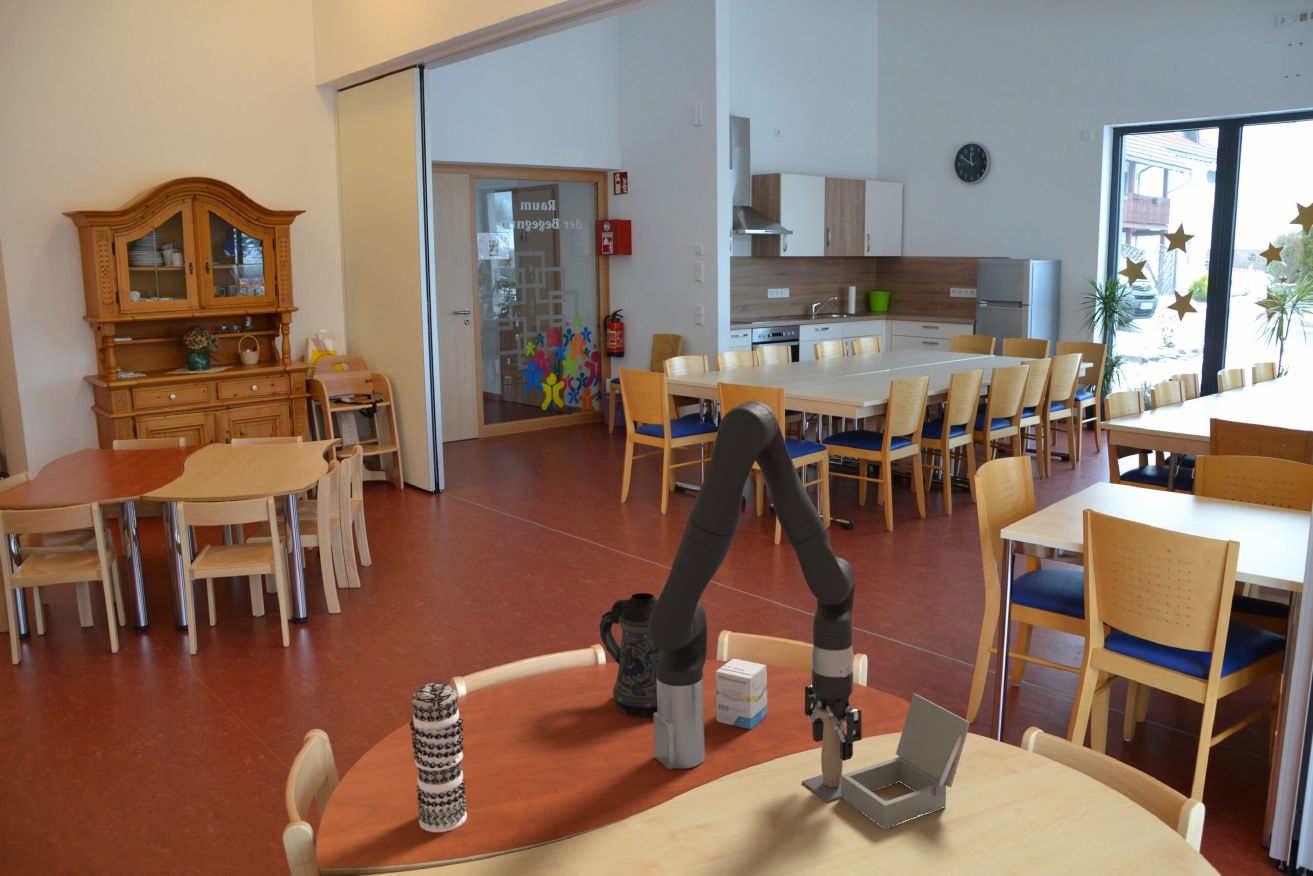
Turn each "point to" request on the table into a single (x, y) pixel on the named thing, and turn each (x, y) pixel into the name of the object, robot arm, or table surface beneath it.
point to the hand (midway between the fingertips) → (832, 749)
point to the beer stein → (633, 655)
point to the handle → (830, 751)
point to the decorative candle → (438, 757)
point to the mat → (823, 788)
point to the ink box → (741, 693)
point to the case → (912, 766)
